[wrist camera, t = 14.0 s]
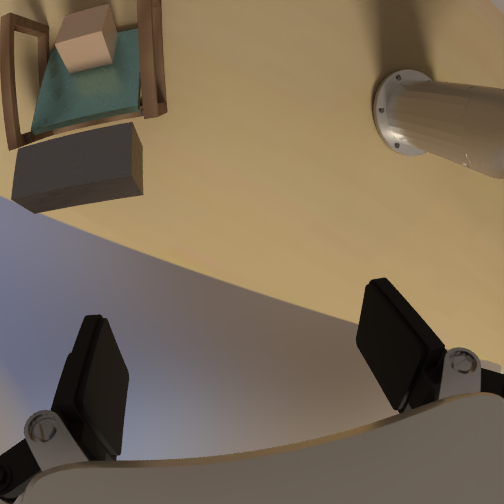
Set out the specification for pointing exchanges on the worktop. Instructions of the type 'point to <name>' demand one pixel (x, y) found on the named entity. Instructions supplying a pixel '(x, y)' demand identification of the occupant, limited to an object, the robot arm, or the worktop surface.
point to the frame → (3, 60)
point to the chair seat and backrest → (84, 135)
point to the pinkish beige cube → (87, 39)
